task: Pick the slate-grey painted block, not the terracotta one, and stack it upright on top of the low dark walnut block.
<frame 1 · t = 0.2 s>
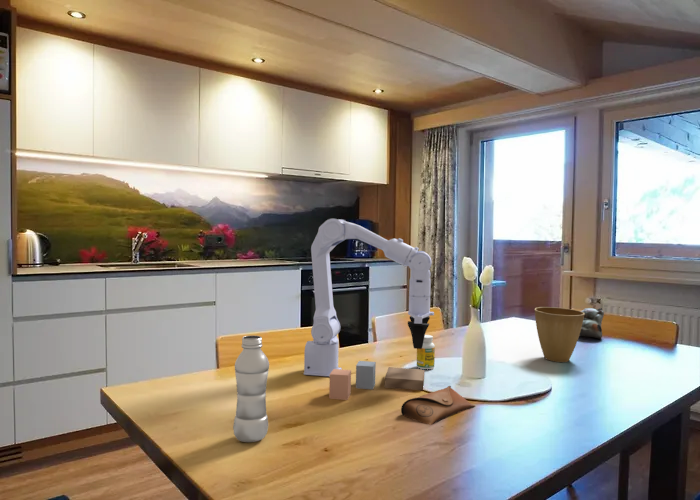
hand: (418, 345, 132), 10 cm above the table, fingers open, 7 cm apart
sunglasses case: (439, 413, 111), on the table
slate block: (365, 386, 127), on the table
plastic bottle: (250, 440, 94), on the table
walnut base: (404, 384, 130), on the table
lucky cat figurine: (583, 337, 192), on the table
terracotta block: (340, 396, 119), on the table
supplement bottle: (425, 368, 145), on the table
plant pot: (557, 359, 157), on the table
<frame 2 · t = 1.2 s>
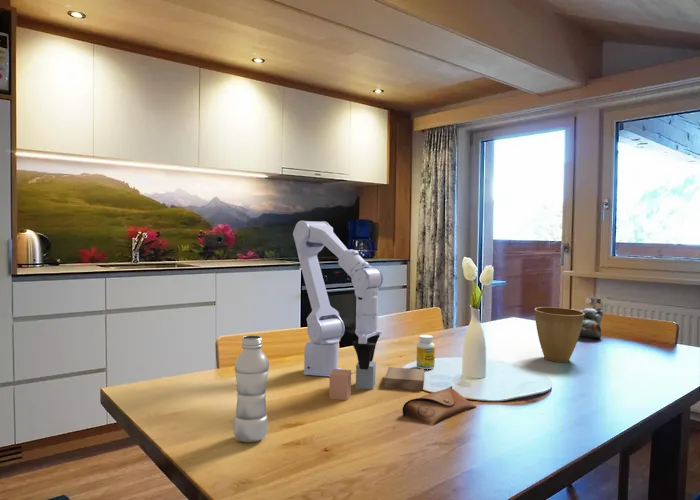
hand: (366, 365, 127), 6 cm above the table, fingers open, 7 cm apart
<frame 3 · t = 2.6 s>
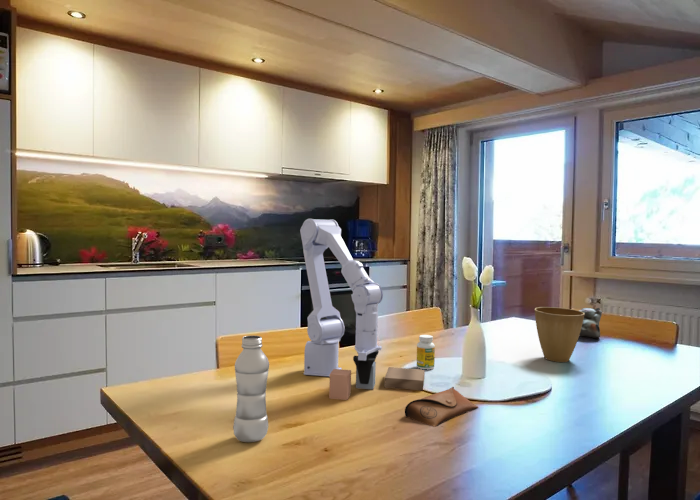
hand: (365, 380, 127), 1 cm above the table, fingers closed on slate block, 4 cm apart
slate block: (365, 385, 127), on the table, touching gripper
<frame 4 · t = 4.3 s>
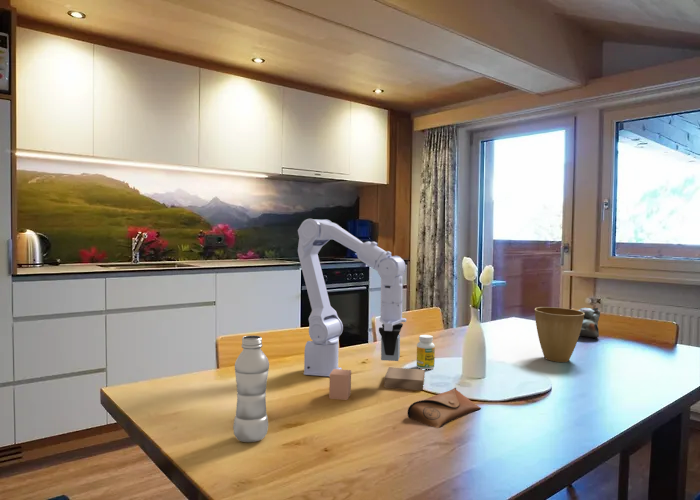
hand: (390, 352, 129), 9 cm above the table, fingers closed on slate block, 4 cm apart
slate block: (390, 358, 129), point 7 cm above the table, touching gripper
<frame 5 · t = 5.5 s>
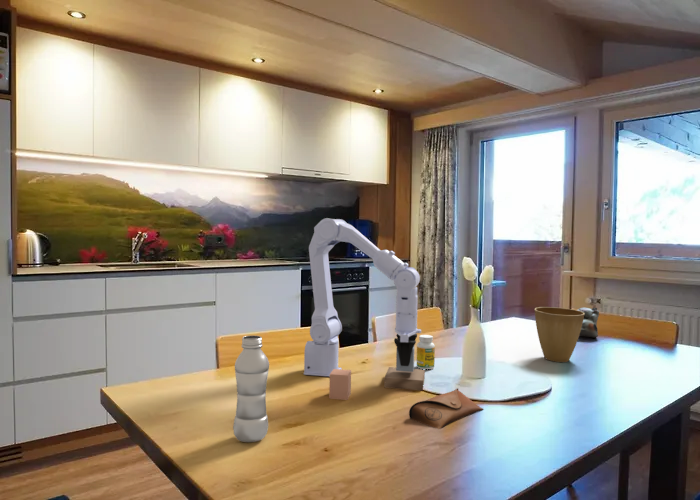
hand: (405, 363, 130), 5 cm above the table, fingers closed on slate block, 4 cm apart
slate block: (405, 368, 130), point 4 cm above the table, touching gripper
when the fingers open (5 cm above the table, at t = 6.2 s): slate block drops 1 cm, resting on walnut base.
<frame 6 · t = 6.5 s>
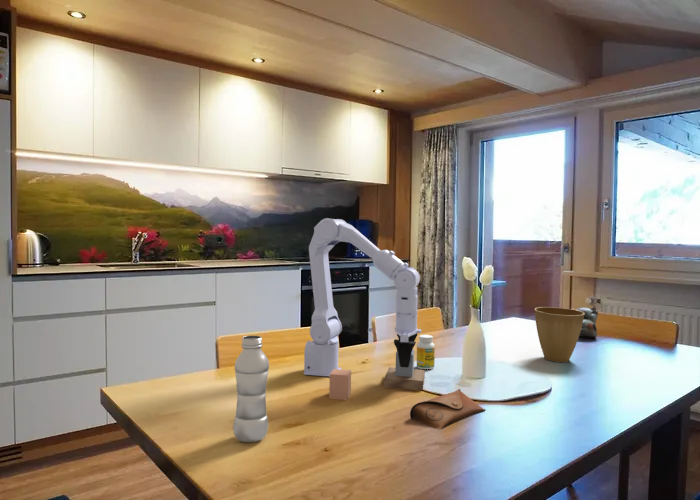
hand: (405, 363, 130), 5 cm above the table, fingers open, 7 cm apart
slate block: (404, 373, 130), point 3 cm above the table, touching walnut base
walnut base: (404, 384, 130), on the table, touching slate block
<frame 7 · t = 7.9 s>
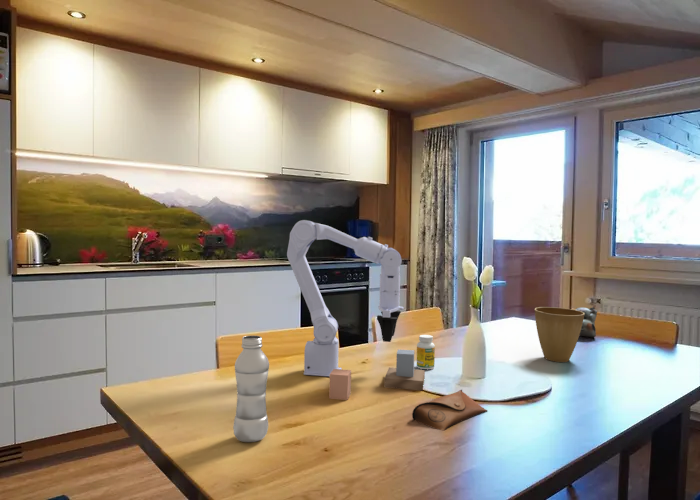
hand: (388, 338, 137), 10 cm above the table, fingers open, 7 cm apart
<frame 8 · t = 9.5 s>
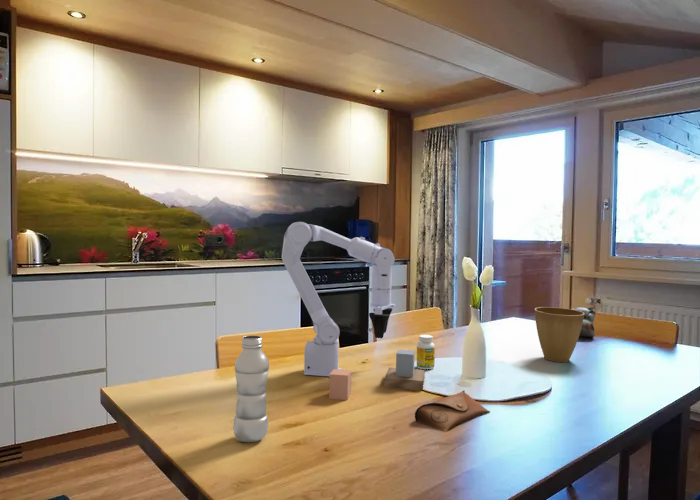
hand: (380, 335, 141), 10 cm above the table, fingers open, 7 cm apart
at the end: slate block 0.3 cm off-centre on the walnut base, point 3.0 cm above the walnut base's base; slate block tilted 1°; the gripper is holding nothing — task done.
